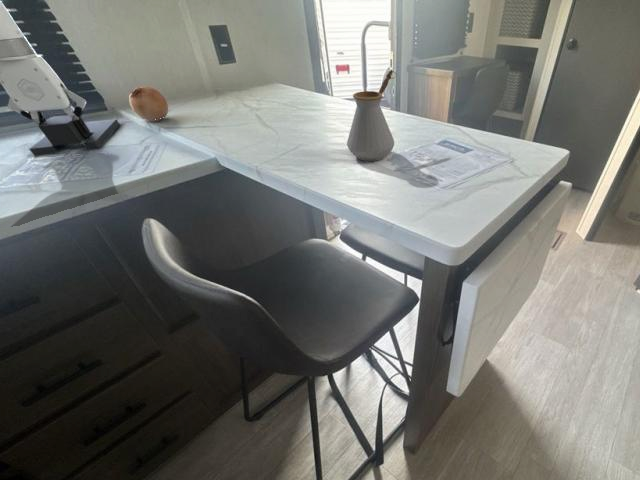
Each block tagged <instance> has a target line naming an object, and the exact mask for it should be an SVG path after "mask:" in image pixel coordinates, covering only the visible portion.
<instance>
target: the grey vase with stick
mask: <svg viewBox="0 0 640 480" xmlns="http://www.w3.org/2000/svg"><path fill="white" fill-rule="evenodd" d="M393 73H394V74H395V77H392V75H393ZM397 76H398V75H397V72H396V71H394V70H393V69H390V70H389V71H388V72H387V73H386V75H385V78H384V79H383V81H382V83H381V85H380V88H379V91H375V90H362V91H358V92H355V93H353V94H352V98H353V99H354V101H355V103H356V108H355V111H354V116H353V118H352V122H351V127H350V130H349V134H348V137H347V141H346V146H347V148H348V150H349V152H350V153H351V154H352V155H354V156H355V157H356V159H358V160H361V161H364V162H377V161H380V160H383V159H385V158H387V156H388V155H389V154H390V153H391V152H392V151H393V149H394V147H395V139H394V136H393V135H392V132H391V130H390V126H389V125H388V122H387V119H386V117H385V115H384V112H383V110H382V108H381V105H380V104H381V102H382V99H383V98H384V97H383V94H384V92H385V90H386V89H387V87H388V85H389V82H390V80H391V79H392V80H394V79H396V78H397Z"/></svg>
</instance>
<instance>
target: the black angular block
mask: <svg viewBox="0 0 640 480" xmlns="http://www.w3.org/2000/svg"><path fill="white" fill-rule="evenodd" d="M45 120H46V121H45V122H44V123H42V124H41V125H39V124H38V128H39V130H40V131H41V132H42V133H43V135H44V137H45V136H46V137H47V139H48V140H49V141H50V143H51V144H52V145H53V146H55V145H64V146H65V145H74V144H81V143H82V142H84V141H85V140H86V139H85V138H83V137H82V136H81V134H80V133H79V131H78V130H77V128H76V127H75V125H74V124H73V122H72V121H73V119H72V118H71V117H70V116H69V115H68V114H67V115H56V116H55V115H54V116H50V117H49V118H48V119H45ZM85 125H86V124H85ZM87 128H88V127H87ZM89 133H91V132H90V130H89Z"/></svg>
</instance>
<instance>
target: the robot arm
mask: <svg viewBox="0 0 640 480" xmlns="http://www.w3.org/2000/svg"><path fill="white" fill-rule="evenodd" d="M13 18H14V17H12V15H11V14H10V12H9V11H8V8H7V7H6V6H5V4H4V3H3V1H2V0H0V85H1V86H2V87H3V89H4V90H5V92H6V93H7V95H8V96H9V99H8V102H7V108H8V109H9V110H11V111H13V112H15V113H17V114H19V115H22V116H23V117H25V118H26V119H28V120H31V121H32V122H33V123H35V124H37V125H38V126H39V125H41V124H42V123H44V122H45V121H46V120H47V119H46V118H45V116H44V112H43V111H55V110H62V111H63V112H64V113H65V114H67V115H69V116H70V117H71V118H72V119H73V121H72V122H73V124H74V125H75V127H76V128H77V130H78V131H79V133H80V134H81V136H82V137H83V138H86V137H87V136H88V135H89V134H90V133H89V129H88V128H87V126H86V125H85V123H84V122H85V121H84V120H83V118H82V117H83V113H84V110H85V107H86V105H87V100H86V99H85V98H84V97H81V96H80V95H78V94H77V93H75V92H73V91H71V90H69V89H68V87H66V85H65V83H64V82H63V81H62V80H61V78H60V77H59V76H58V74H57V73H56V72H55V70H54V69H53V68H52V67H51V65H50V64H49V63H48V62H47V60H45V59H44V58H43V56H42V55H40V54H37V53H36V51H35V49H34V48H33V46H32V45H31V44H30V42H29V41H28V39H27V37H26V36H25V35H24V33H23V32H22V30H21V29H20V28H19V26H18V24H17V23H16V21H15V20H14V19H13ZM74 103H76V105H75V106H73V104H74Z"/></svg>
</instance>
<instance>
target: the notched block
mask: <svg viewBox="0 0 640 480" xmlns="http://www.w3.org/2000/svg"><path fill="white" fill-rule="evenodd" d="M84 123H85V124H86V126H87V127H88V129H89V130H90V132H91V133H90V134H89V135H88V136H87V137H86V138H85V139H84V141H83V145H84V147H85V148H86V150H94V149H99V148H100V147H101V146H102V145H103V144H104V143H105V142H106V141H107V139H108V138H109V137H111V135H112V134H113V133H114V132H115V131H116V130H117V128H118V127H120V123H119V121H118V119H116V118H115V119H105V120H104V119H103V120H92V121H91V120H90V121H84ZM64 146H65V145H55V146H53V145H52V144H51V143H50V141H49V140H48V139H47V137H46V136H45V135H44V136H43V138H41V139H39V141H37V142H36V143H35V144H33V145H32V146H30V148H29V149H28V150H29V151H30V152H31V153H32V154H33V156H38V155H48V154H56V153H58V152H59V151H60V150H61V149H62V148H63V147H64Z"/></svg>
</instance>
